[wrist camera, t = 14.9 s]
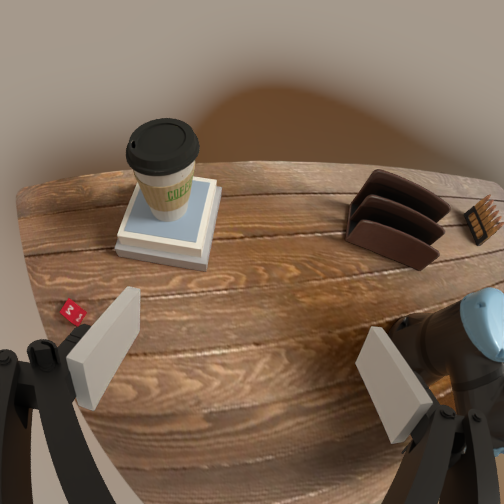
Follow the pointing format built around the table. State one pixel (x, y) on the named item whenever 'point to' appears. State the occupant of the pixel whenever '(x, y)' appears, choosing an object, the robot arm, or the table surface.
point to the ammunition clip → (482, 220)
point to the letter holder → (396, 219)
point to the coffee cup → (164, 165)
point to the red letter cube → (73, 312)
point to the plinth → (171, 229)
